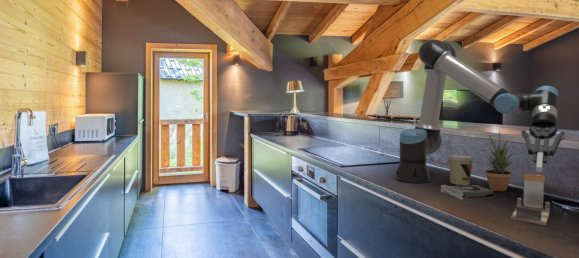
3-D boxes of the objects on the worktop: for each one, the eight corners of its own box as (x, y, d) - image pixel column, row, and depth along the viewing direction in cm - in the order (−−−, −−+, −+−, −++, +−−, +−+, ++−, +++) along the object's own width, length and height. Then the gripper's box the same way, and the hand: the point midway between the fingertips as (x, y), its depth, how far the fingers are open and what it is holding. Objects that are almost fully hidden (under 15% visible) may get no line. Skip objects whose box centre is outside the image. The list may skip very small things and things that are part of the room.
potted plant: (479, 187, 144) (480, 128, 142) (497, 186, 146) (499, 128, 145) (499, 193, 134) (501, 130, 133) (518, 191, 136) (520, 129, 135)
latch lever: (523, 206, 112) (524, 173, 112) (543, 209, 109) (544, 175, 108) (522, 207, 111) (524, 174, 110) (542, 210, 108) (544, 176, 107)
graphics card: (460, 192, 124) (440, 184, 136) (460, 202, 125) (439, 193, 136) (501, 190, 127) (477, 182, 139) (500, 200, 128) (477, 191, 139)
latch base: (517, 208, 114) (518, 196, 114) (549, 213, 108) (550, 201, 108) (511, 219, 103) (511, 206, 103) (545, 225, 98) (546, 211, 98)
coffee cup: (464, 186, 144) (465, 158, 144) (443, 182, 152) (444, 155, 152) (475, 184, 149) (477, 157, 149) (455, 180, 157) (456, 154, 157)
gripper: (522, 112, 131) (515, 161, 119) (566, 112, 122) (563, 164, 111) (523, 125, 135) (517, 174, 123) (566, 126, 127) (563, 178, 115)
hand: (539, 169), depth 117 cm, fingers closed
